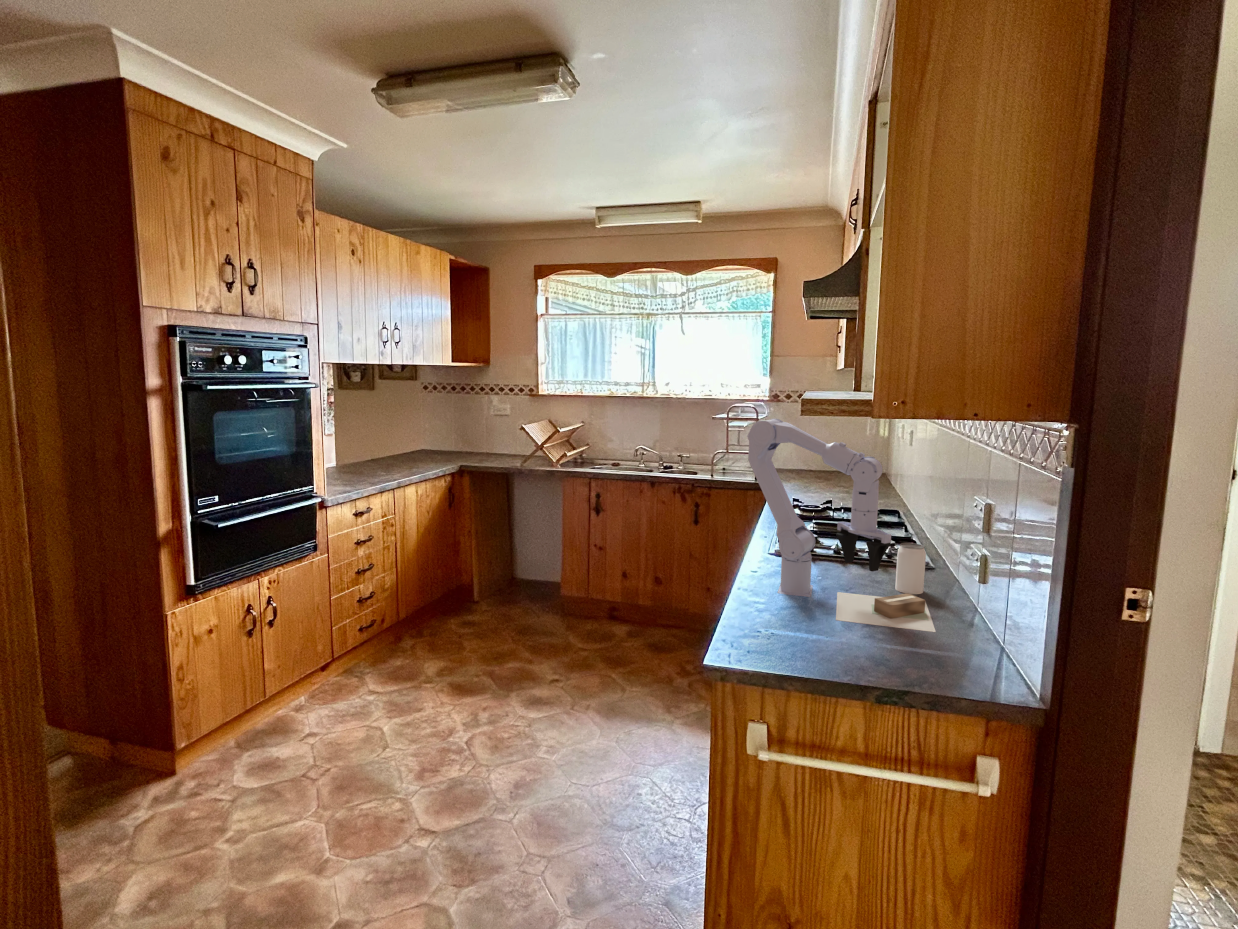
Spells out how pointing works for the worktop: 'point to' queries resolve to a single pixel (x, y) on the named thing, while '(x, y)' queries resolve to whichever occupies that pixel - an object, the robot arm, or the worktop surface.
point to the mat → (863, 612)
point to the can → (910, 568)
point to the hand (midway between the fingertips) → (861, 566)
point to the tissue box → (899, 605)
